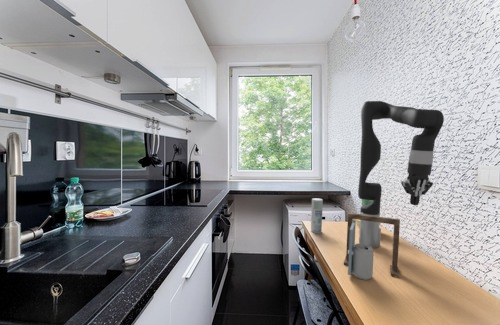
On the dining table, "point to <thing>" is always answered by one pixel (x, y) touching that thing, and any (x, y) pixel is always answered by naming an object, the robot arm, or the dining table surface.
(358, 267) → the can
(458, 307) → the dining table surface
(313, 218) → the spray can
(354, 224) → the door
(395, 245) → the door frame
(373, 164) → the robot arm
